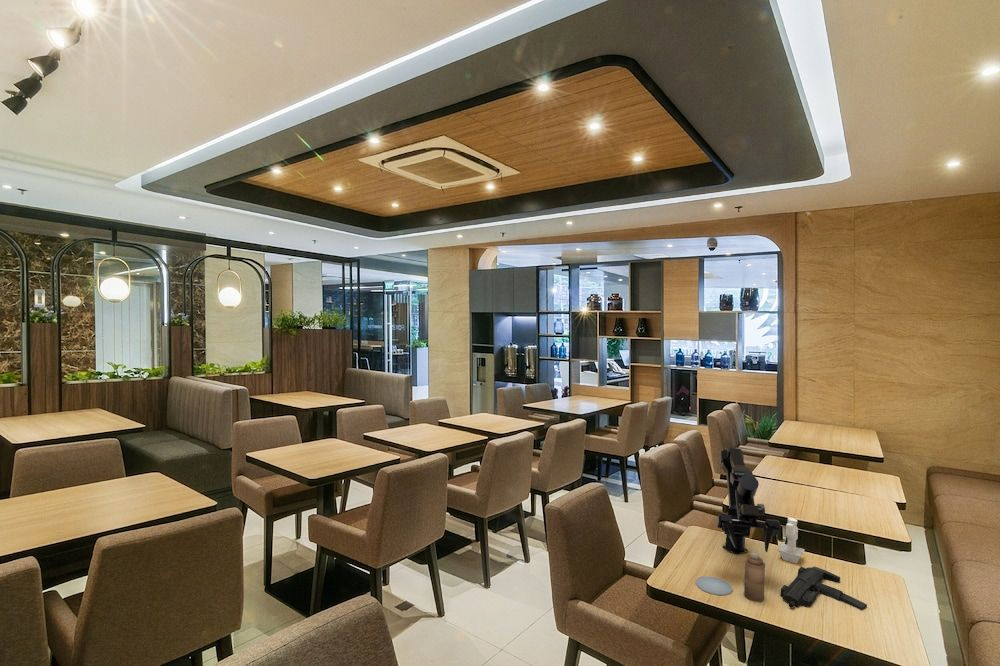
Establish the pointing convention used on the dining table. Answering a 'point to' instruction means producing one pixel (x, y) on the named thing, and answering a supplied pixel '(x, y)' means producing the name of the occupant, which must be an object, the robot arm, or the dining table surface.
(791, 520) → the figurine
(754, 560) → the pepper mill
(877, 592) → the dining table surface
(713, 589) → the slate mat
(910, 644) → the dining table surface
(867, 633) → the dining table surface
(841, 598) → the firearm
